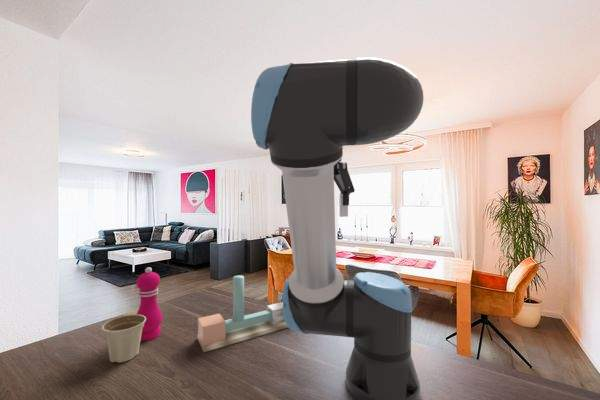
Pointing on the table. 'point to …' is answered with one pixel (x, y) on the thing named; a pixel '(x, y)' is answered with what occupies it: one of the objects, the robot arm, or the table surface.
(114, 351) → the flower pot
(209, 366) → the table surface
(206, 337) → the socket block
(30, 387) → the table surface
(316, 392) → the table surface
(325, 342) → the table surface
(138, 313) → the pepper mill
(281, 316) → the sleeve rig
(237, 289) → the upright post with base
